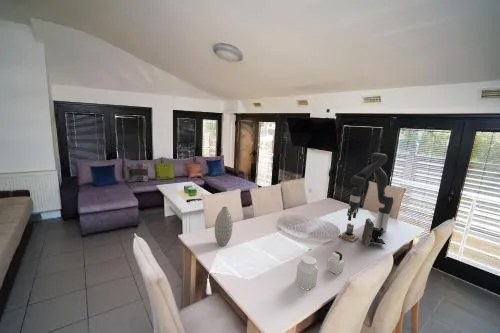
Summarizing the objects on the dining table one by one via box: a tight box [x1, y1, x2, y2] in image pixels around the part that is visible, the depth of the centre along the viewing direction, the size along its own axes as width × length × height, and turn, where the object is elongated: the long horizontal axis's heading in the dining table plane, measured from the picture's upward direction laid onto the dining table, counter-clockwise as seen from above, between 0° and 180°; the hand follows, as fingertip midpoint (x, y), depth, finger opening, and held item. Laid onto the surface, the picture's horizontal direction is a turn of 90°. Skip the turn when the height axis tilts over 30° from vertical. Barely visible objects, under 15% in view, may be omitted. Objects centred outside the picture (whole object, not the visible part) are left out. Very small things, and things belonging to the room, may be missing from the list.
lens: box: [345, 223, 355, 236], centre depth 193 cm, size 5×5×10 cm
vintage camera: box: [361, 218, 387, 246], centre depth 185 cm, size 10×15×20 cm, turn 78°
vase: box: [214, 206, 234, 247], centre depth 167 cm, size 13×13×28 cm
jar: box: [295, 255, 319, 290], centre depth 133 cm, size 12×10×15 cm
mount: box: [338, 230, 360, 244], centre depth 194 cm, size 12×12×4 cm
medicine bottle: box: [326, 250, 345, 275], centre depth 147 cm, size 7×7×12 cm
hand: (351, 219), depth 191 cm, fingers open, 8 cm apart
